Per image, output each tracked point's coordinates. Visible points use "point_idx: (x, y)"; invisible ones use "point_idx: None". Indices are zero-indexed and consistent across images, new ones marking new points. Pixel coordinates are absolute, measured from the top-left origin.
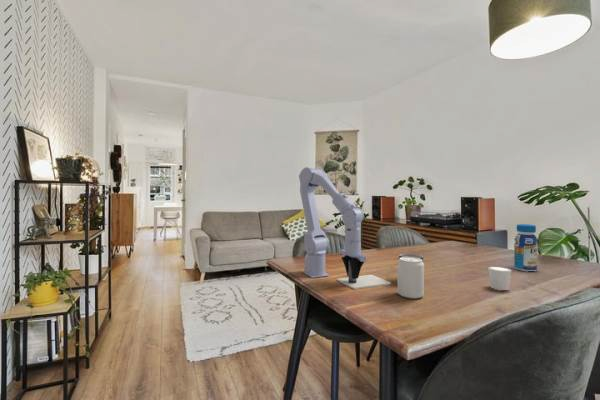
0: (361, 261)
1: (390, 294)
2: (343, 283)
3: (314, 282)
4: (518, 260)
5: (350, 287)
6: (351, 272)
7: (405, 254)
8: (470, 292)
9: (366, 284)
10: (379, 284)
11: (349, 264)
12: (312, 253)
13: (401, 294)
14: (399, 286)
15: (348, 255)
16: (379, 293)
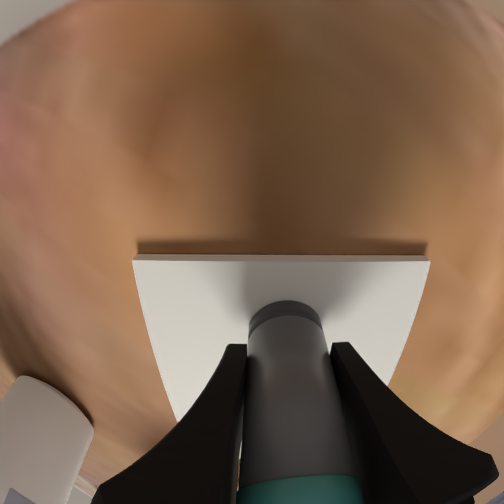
0: (10, 489)
1: (55, 366)
2: (320, 256)
3: (449, 48)
4: None
5: (192, 254)
6: (259, 386)
7: None
8: (99, 478)
9: (190, 376)
10: (176, 419)
11: (298, 467)
12: None
13: (26, 378)
14: (21, 402)
15: None
16: (62, 341)
